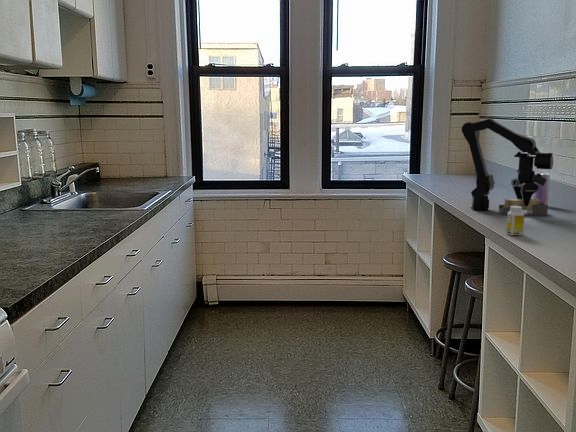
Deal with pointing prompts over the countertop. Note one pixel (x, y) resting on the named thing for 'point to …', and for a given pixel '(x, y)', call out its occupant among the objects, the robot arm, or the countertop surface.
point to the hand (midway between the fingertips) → (523, 204)
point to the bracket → (539, 209)
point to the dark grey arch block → (504, 209)
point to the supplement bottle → (515, 221)
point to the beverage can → (543, 189)
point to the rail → (522, 203)
